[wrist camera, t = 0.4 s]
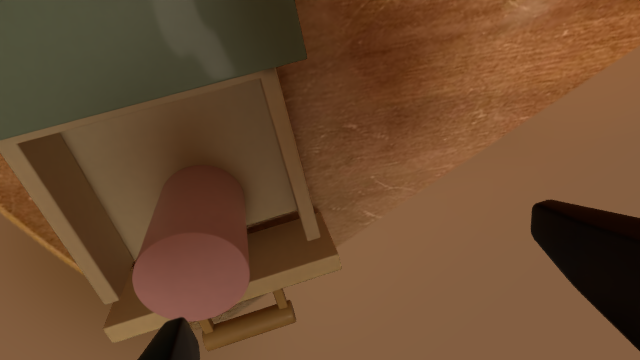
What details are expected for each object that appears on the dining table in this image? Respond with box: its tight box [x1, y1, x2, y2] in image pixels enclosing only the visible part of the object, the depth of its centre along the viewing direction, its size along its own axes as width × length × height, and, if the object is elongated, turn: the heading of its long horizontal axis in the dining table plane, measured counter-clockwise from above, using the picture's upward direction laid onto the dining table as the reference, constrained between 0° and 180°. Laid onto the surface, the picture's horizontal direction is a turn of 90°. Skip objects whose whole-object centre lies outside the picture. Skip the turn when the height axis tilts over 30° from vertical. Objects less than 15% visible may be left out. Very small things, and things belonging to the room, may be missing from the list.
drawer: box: [0, 67, 342, 351], centre depth 21 cm, size 17×13×5 cm
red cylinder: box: [132, 165, 250, 321], centre depth 19 cm, size 5×5×7 cm
